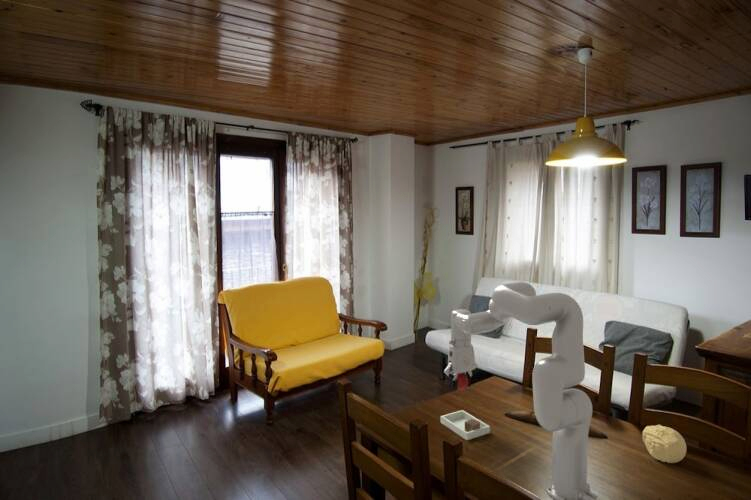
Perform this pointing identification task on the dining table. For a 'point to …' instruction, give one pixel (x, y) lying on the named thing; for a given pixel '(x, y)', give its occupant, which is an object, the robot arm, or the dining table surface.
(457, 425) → the tray
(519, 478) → the dining table surface
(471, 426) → the walnut block
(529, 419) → the bread
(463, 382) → the onion
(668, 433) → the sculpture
